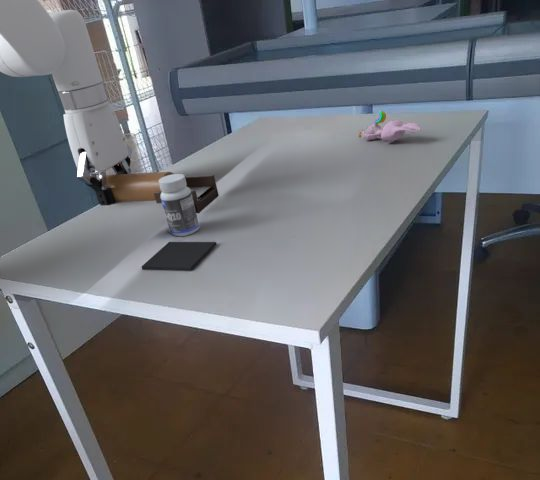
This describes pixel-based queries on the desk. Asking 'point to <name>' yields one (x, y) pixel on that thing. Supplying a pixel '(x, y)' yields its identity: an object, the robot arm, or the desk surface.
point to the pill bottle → (178, 205)
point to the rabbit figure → (387, 129)
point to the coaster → (179, 256)
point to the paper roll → (135, 186)
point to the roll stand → (195, 182)
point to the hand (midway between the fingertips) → (119, 202)
